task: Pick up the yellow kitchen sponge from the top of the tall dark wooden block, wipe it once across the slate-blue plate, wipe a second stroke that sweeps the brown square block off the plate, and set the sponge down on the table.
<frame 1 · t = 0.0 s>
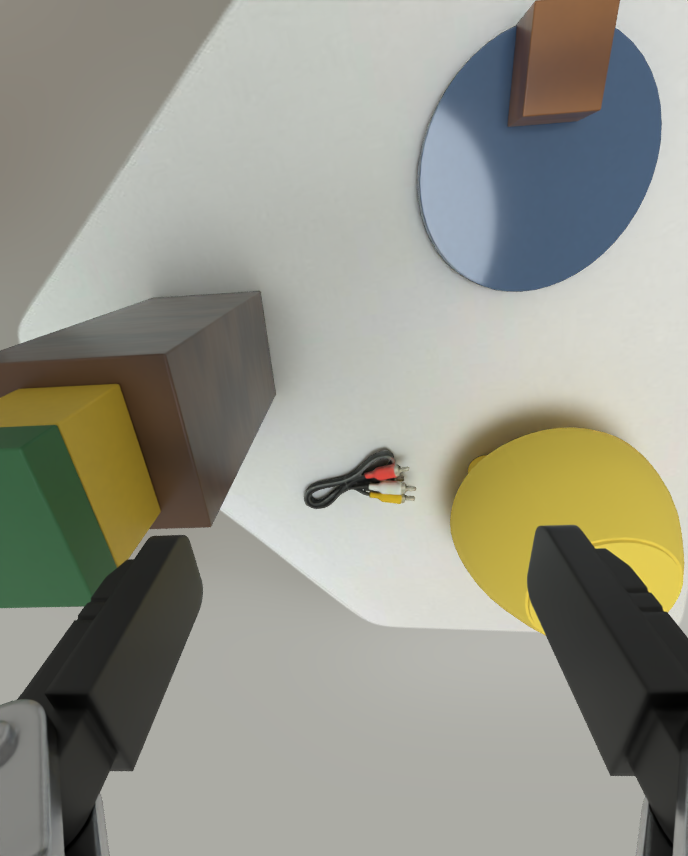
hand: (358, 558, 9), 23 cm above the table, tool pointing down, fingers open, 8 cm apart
sponge: (95, 454, 17), point 16 cm above the table, touching tall dark wooden block
brown square block: (548, 74, 22), point 1 cm above the table, touching plate
composite cable: (356, 475, 36), on the table
tall dark wooden block: (217, 348, 31), on the table
plate: (530, 172, 25), on the table
teapot: (534, 505, 37), on the table
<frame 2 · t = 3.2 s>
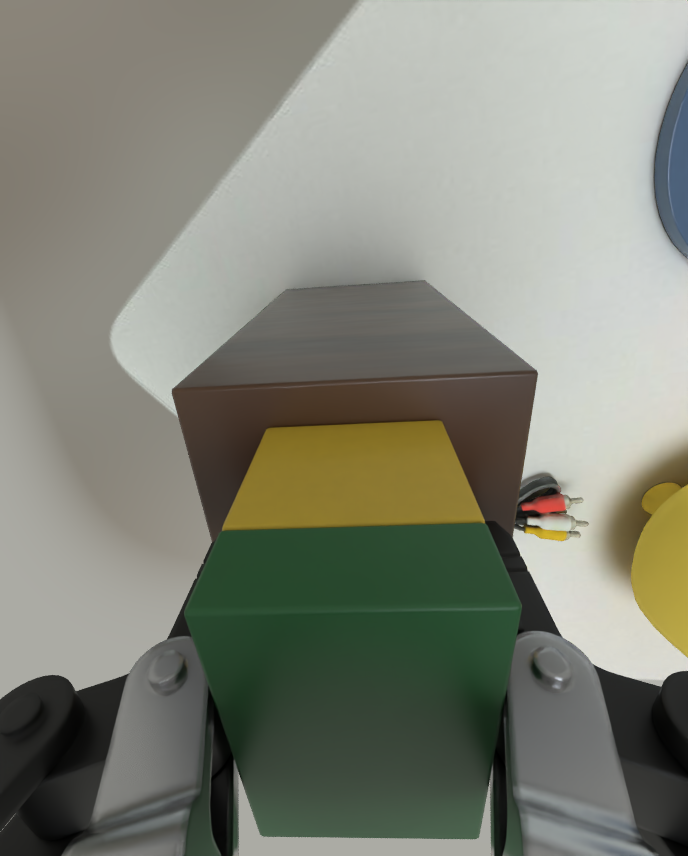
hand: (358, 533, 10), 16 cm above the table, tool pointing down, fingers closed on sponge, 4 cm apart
sponge: (359, 526, 10), point 16 cm above the table, touching gripper, tall dark wooden block
composite cable: (502, 504, 30), on the table
tall dark wooden block: (358, 353, 25), on the table
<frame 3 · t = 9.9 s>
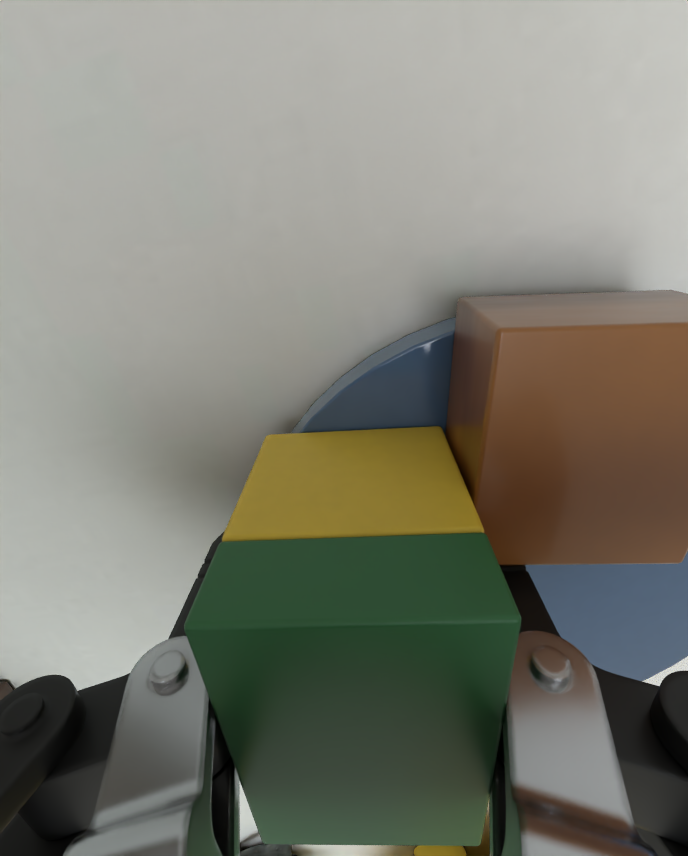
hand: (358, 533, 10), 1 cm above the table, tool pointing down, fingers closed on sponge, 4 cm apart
sponge: (359, 531, 10), point 1 cm above the table, touching gripper
brown square block: (541, 401, 9), point 1 cm above the table, touching gripper
composite cable: (239, 846, 23), on the table
plate: (498, 546, 12), on the table
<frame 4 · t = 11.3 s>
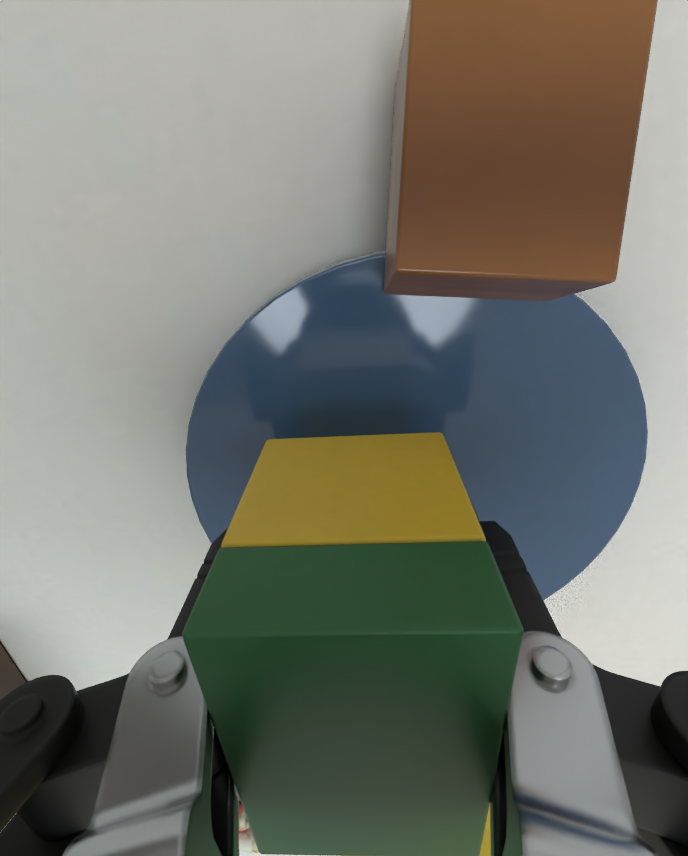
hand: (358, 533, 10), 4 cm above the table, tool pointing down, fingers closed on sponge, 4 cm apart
sponge: (359, 537, 10), point 3 cm above the table, touching gripper
brown square block: (475, 197, 9), point 1 cm above the table, tilted 17°, touching plate
composite cable: (200, 788, 24), on the table
plate: (406, 474, 14), on the table
teapot: (466, 822, 25), on the table
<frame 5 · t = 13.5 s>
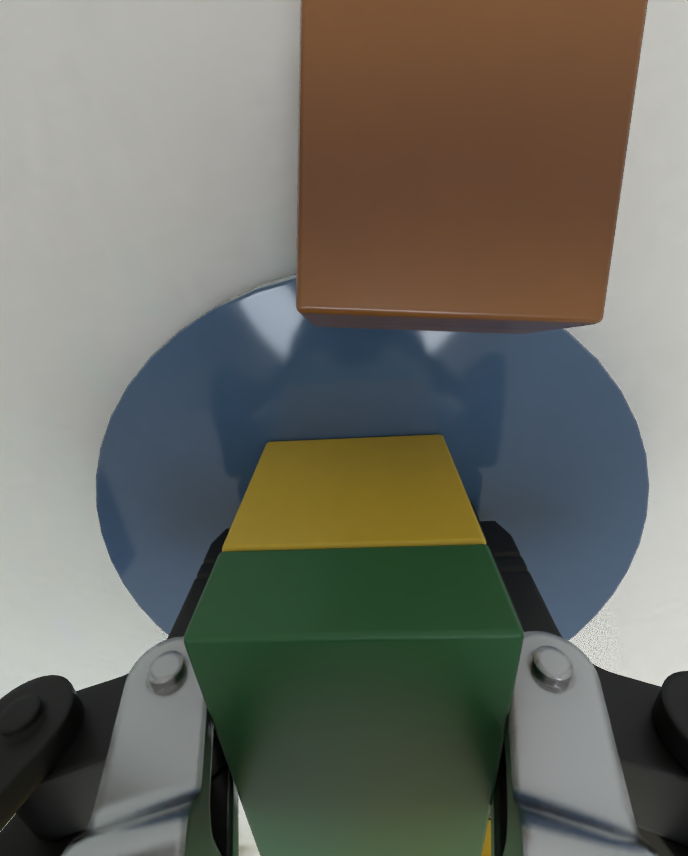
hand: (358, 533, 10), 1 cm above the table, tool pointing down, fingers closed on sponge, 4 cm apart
sponge: (359, 539, 10), point 1 cm above the table, touching gripper
brown square block: (426, 202, 7), point 1 cm above the table, tilted 17°, touching plate
plate: (364, 527, 12), on the table
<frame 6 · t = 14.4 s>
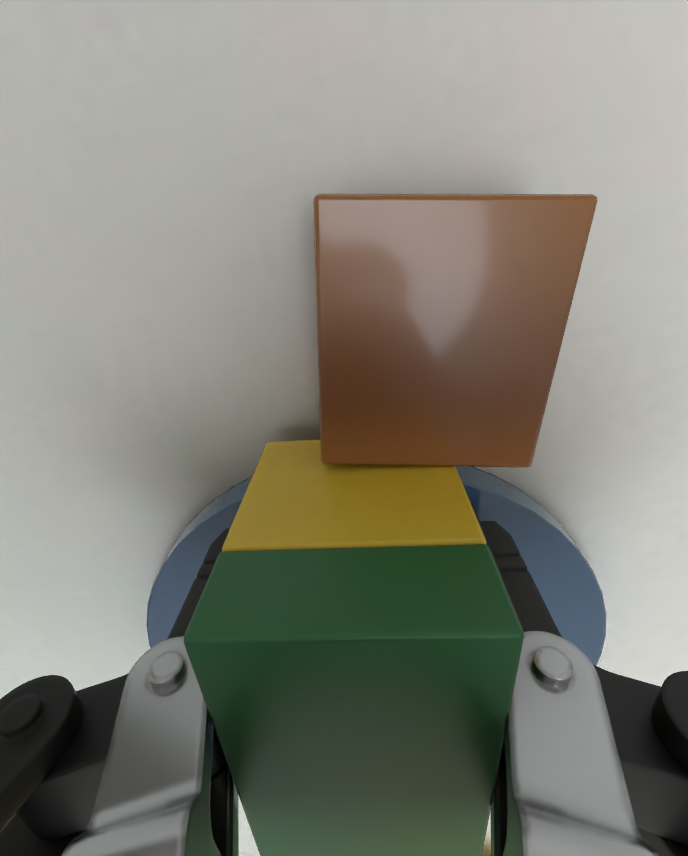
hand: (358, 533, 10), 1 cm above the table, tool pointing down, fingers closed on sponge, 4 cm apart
sponge: (359, 539, 10), point 1 cm above the table, touching brown square block, gripper
brown square block: (418, 319, 9), on the table, touching sponge
plate: (370, 630, 14), on the table
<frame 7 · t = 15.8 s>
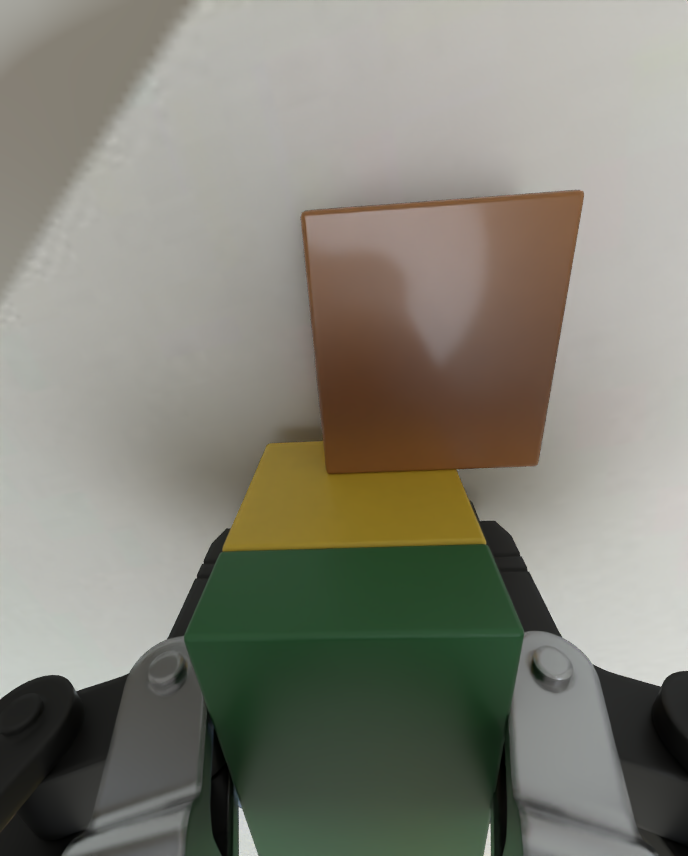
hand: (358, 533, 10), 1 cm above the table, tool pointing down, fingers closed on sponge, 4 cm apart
sponge: (360, 541, 10), point 1 cm above the table, touching brown square block, gripper
brown square block: (415, 323, 9), on the table, touching sponge
when the fingers open (0 cm above the table, at t = 20.9 s): sponge stays where it is, on the table.
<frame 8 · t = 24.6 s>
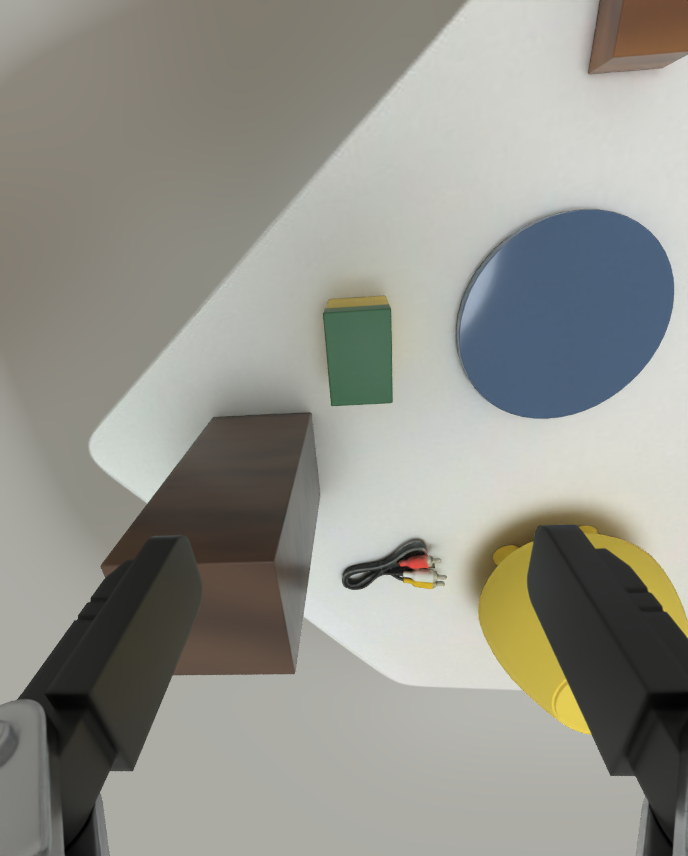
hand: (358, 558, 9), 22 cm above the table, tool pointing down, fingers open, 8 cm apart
sponge: (359, 340, 29), on the table
brown square block: (635, 16, 21), on the table
composite cable: (389, 559, 39), on the table
tall dark wooden block: (269, 457, 34), on the table
plate: (556, 322, 28), on the table
teapot: (553, 586, 40), on the table
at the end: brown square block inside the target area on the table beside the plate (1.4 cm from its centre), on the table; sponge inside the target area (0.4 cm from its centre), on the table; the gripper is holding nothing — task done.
